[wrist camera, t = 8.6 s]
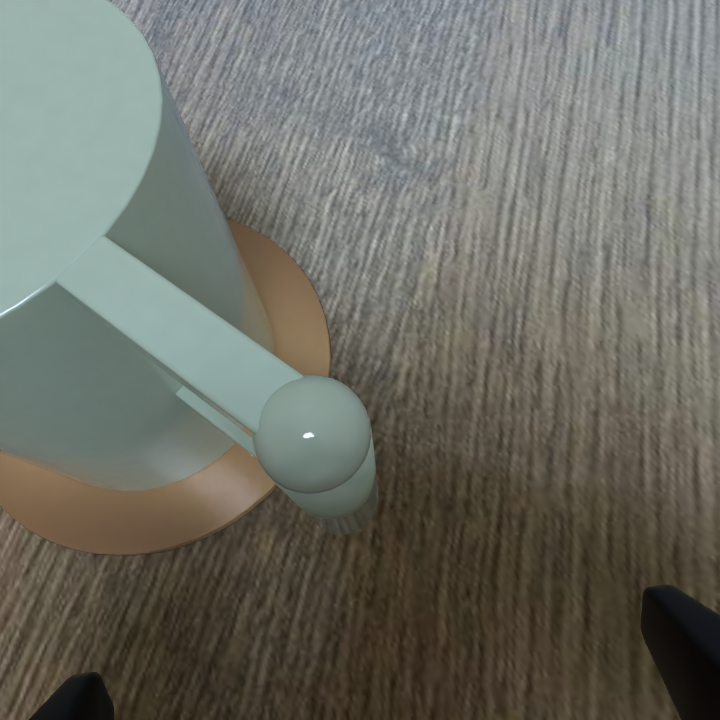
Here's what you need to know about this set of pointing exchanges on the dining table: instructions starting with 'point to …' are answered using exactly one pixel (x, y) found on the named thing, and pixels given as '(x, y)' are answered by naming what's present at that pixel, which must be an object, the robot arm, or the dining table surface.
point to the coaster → (201, 490)
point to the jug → (140, 287)
